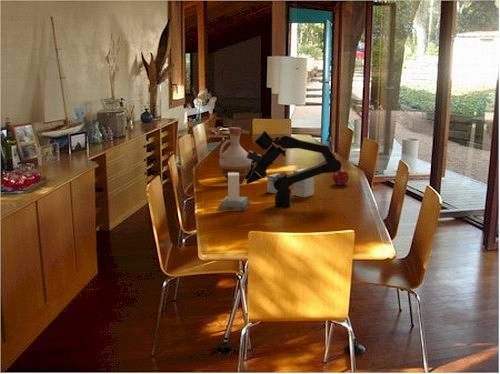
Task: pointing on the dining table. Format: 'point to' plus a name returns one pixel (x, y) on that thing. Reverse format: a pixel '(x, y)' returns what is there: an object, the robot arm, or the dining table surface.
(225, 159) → the jug
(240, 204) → the slate top slab
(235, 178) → the ivory pillar block
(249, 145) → the dining table surface
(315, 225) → the dining table surface
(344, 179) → the christmas ornament
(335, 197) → the dining table surface
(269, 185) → the medicine box
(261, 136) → the robot arm
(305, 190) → the supplement box
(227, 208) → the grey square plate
